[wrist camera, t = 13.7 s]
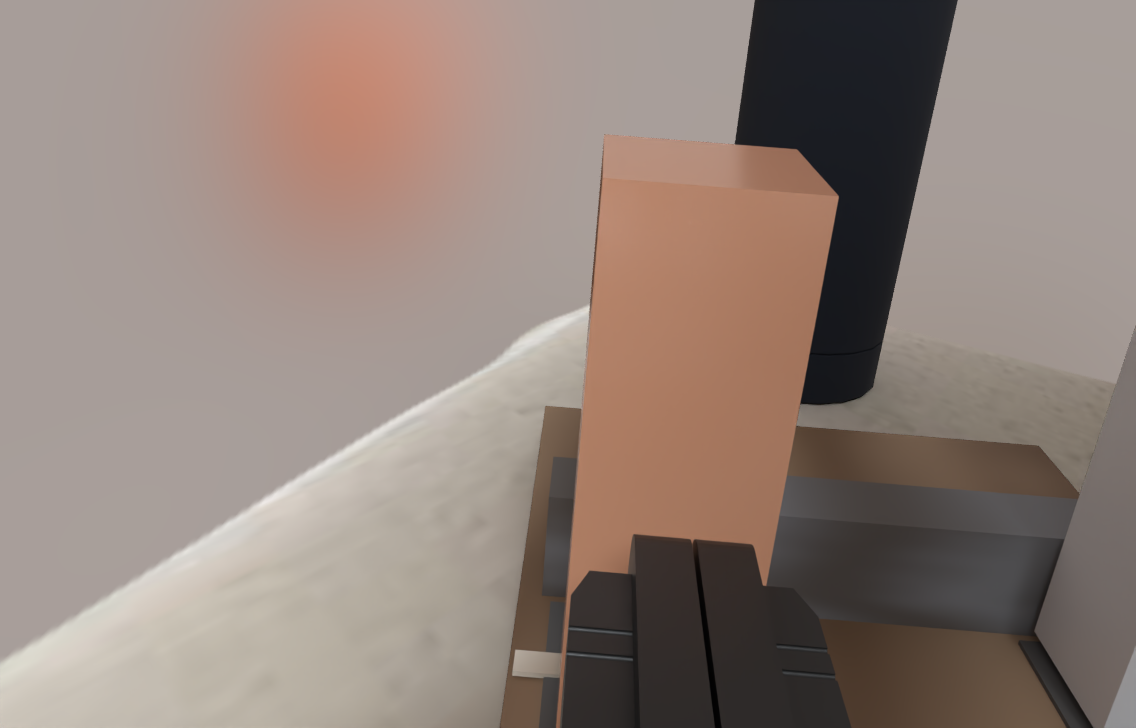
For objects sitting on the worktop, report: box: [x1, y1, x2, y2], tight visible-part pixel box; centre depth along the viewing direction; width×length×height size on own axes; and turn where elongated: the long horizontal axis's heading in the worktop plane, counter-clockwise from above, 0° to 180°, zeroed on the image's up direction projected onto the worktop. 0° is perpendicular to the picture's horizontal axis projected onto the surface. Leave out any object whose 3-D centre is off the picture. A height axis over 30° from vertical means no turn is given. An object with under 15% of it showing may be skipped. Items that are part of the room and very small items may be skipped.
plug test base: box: [500, 406, 1093, 728], centre depth 19 cm, size 15×22×4 cm
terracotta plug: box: [556, 134, 839, 728], centre depth 16 cm, size 3×3×10 cm
